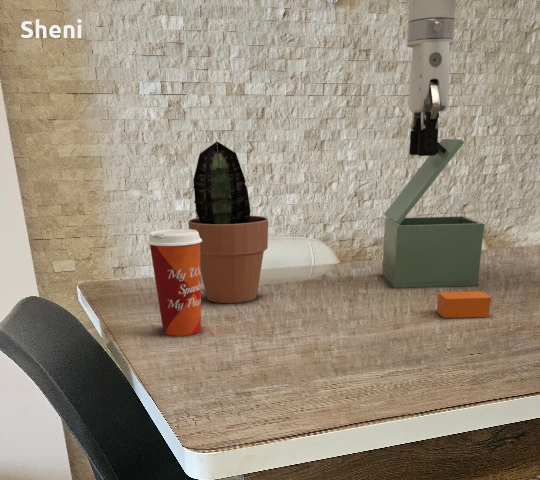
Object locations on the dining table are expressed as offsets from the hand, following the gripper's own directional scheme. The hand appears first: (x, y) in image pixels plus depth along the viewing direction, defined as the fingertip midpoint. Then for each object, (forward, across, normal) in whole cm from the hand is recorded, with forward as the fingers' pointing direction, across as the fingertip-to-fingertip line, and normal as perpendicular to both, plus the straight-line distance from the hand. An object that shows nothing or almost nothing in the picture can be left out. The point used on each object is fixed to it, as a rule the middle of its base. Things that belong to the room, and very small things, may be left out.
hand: (422, 154), depth 119 cm
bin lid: (+5, 0, 0) cm, 5 cm away
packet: (+22, -27, -2) cm, 35 cm away
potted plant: (+22, -11, +35) cm, 43 cm away
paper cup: (+22, -33, +42) cm, 57 cm away
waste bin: (+22, 0, -3) cm, 22 cm away
